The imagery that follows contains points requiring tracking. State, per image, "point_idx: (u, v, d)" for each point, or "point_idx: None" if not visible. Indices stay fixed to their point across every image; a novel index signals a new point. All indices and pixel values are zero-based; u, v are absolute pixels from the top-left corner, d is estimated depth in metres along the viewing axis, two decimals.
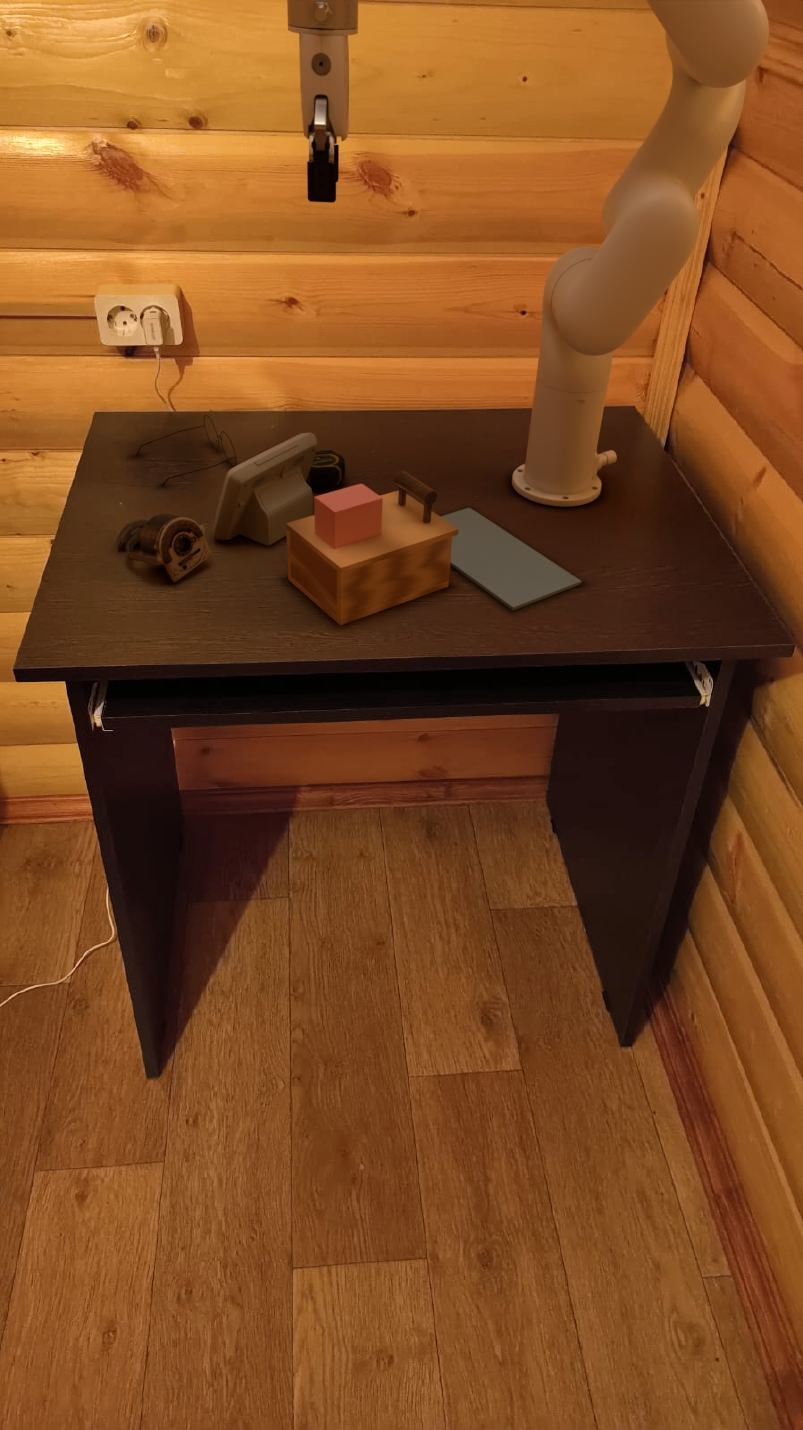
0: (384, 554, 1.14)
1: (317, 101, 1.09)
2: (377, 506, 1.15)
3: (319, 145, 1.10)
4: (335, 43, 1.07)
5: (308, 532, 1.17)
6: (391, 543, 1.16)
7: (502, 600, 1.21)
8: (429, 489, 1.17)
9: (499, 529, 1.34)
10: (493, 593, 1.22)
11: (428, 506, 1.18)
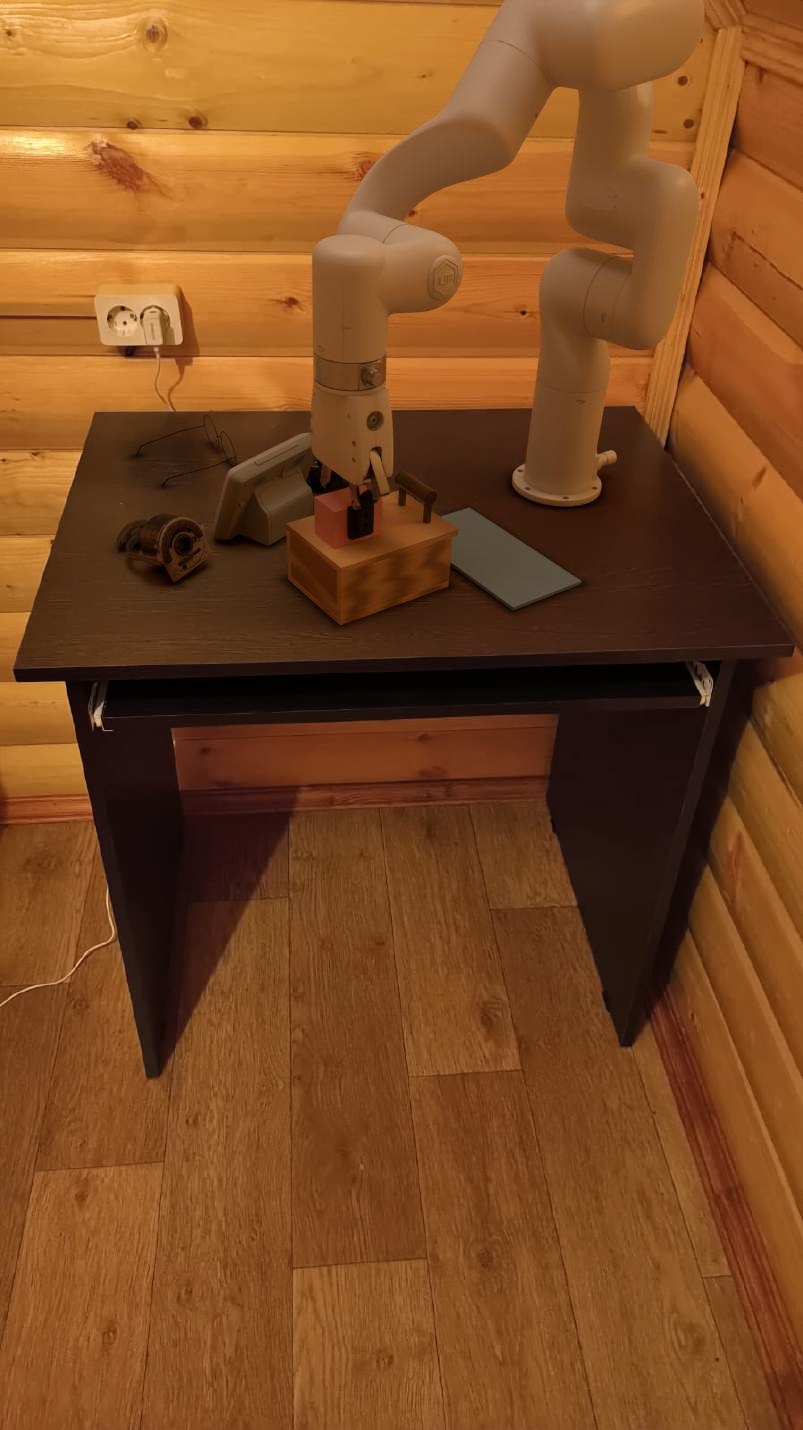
0: (384, 554, 1.14)
1: (372, 461, 1.07)
2: (377, 506, 1.15)
3: None
4: (385, 399, 1.04)
5: (308, 532, 1.17)
6: (391, 543, 1.16)
7: (502, 600, 1.21)
8: (429, 489, 1.17)
9: (499, 529, 1.34)
10: (493, 593, 1.22)
11: (428, 506, 1.18)
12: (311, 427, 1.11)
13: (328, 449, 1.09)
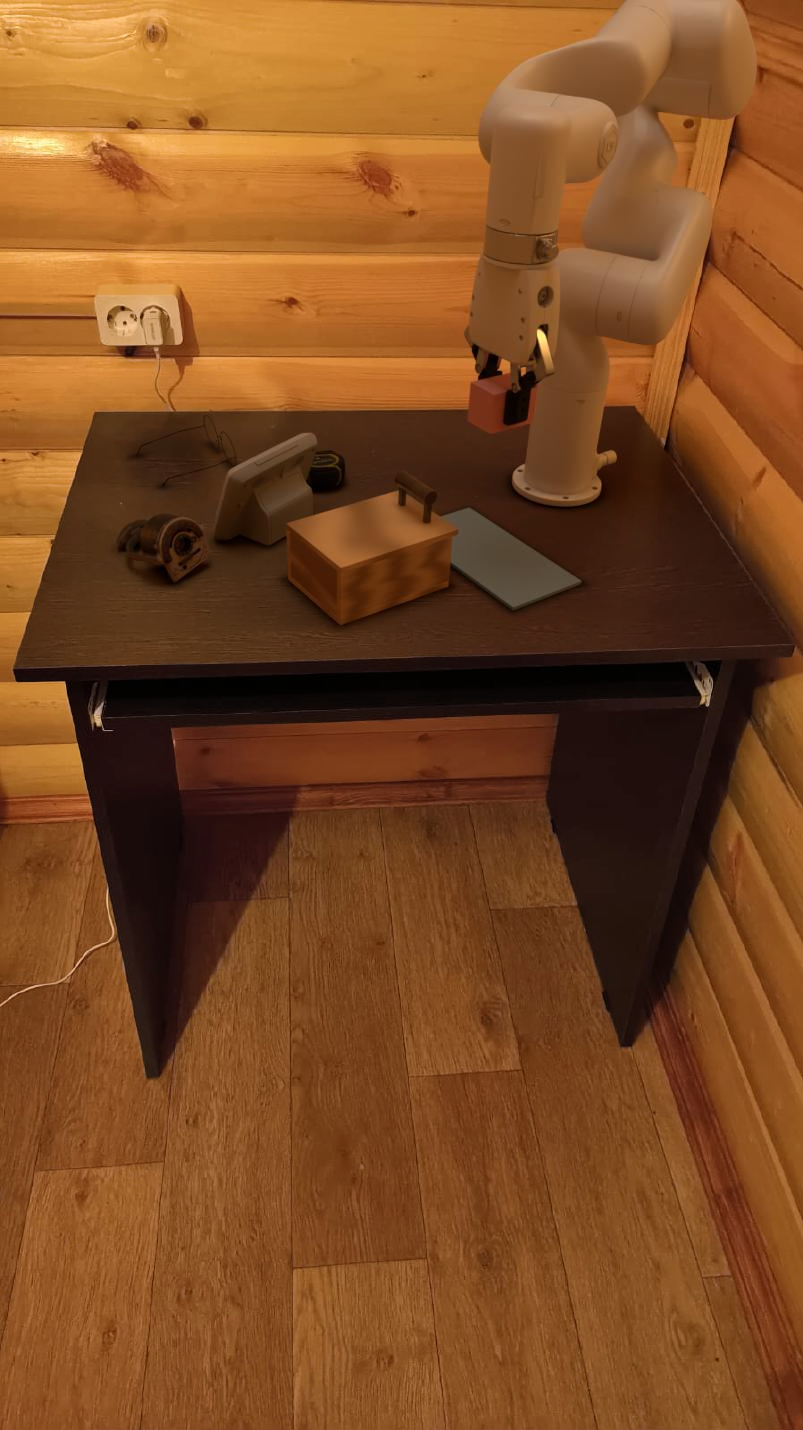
0: (384, 554, 1.14)
1: (539, 339, 1.07)
2: (532, 392, 1.15)
3: None
4: (556, 274, 1.05)
5: (308, 532, 1.17)
6: (391, 543, 1.16)
7: (502, 600, 1.21)
8: (429, 489, 1.17)
9: (499, 529, 1.34)
10: (493, 593, 1.22)
11: (428, 506, 1.18)
12: (471, 310, 1.12)
13: (491, 330, 1.10)
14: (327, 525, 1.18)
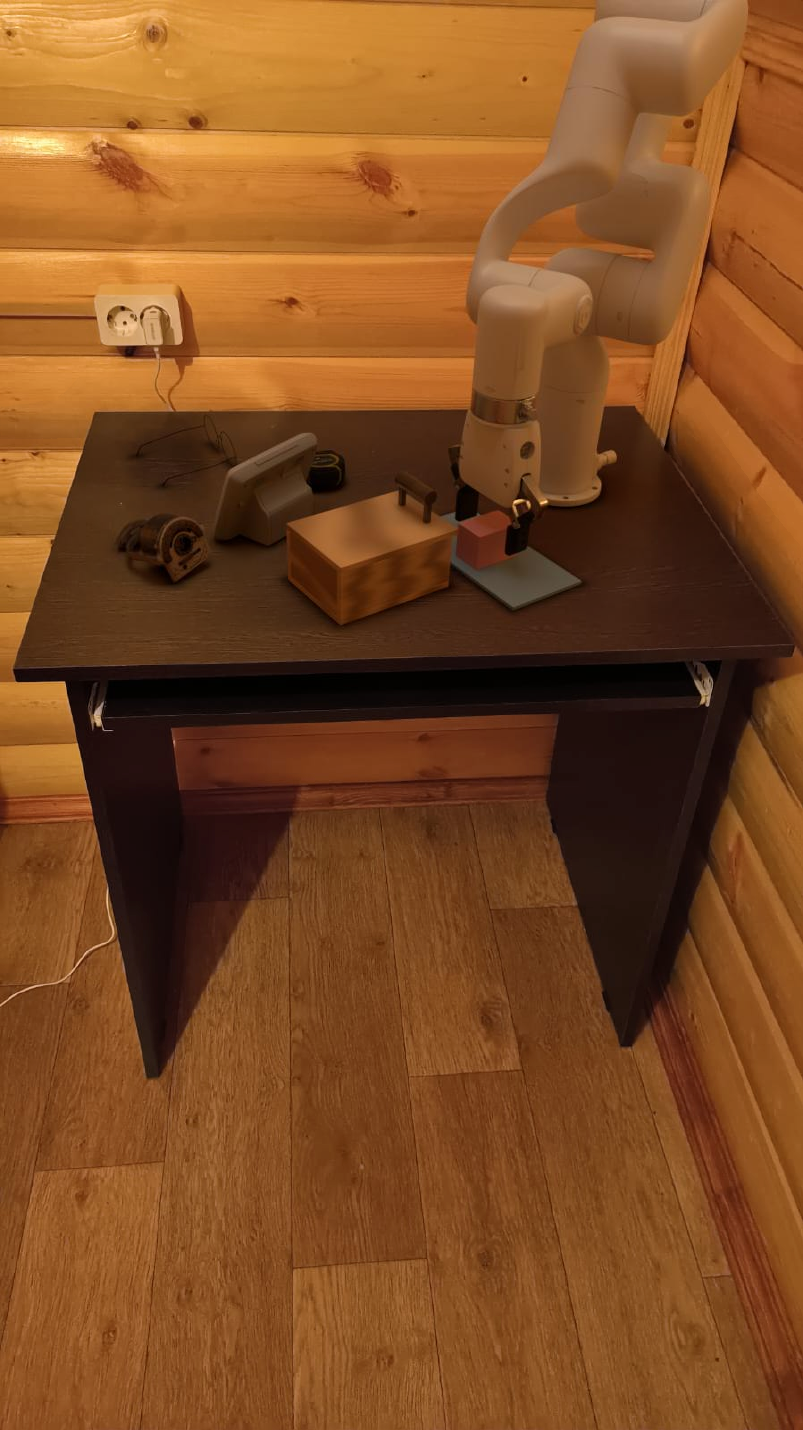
0: (384, 554, 1.14)
1: (525, 480, 1.17)
2: None
3: (536, 517, 1.19)
4: (537, 431, 1.16)
5: (308, 532, 1.17)
6: (391, 543, 1.16)
7: (502, 600, 1.21)
8: (429, 489, 1.17)
9: None
10: (493, 593, 1.22)
11: (428, 506, 1.18)
12: (461, 454, 1.23)
13: (479, 474, 1.21)
14: (327, 525, 1.18)
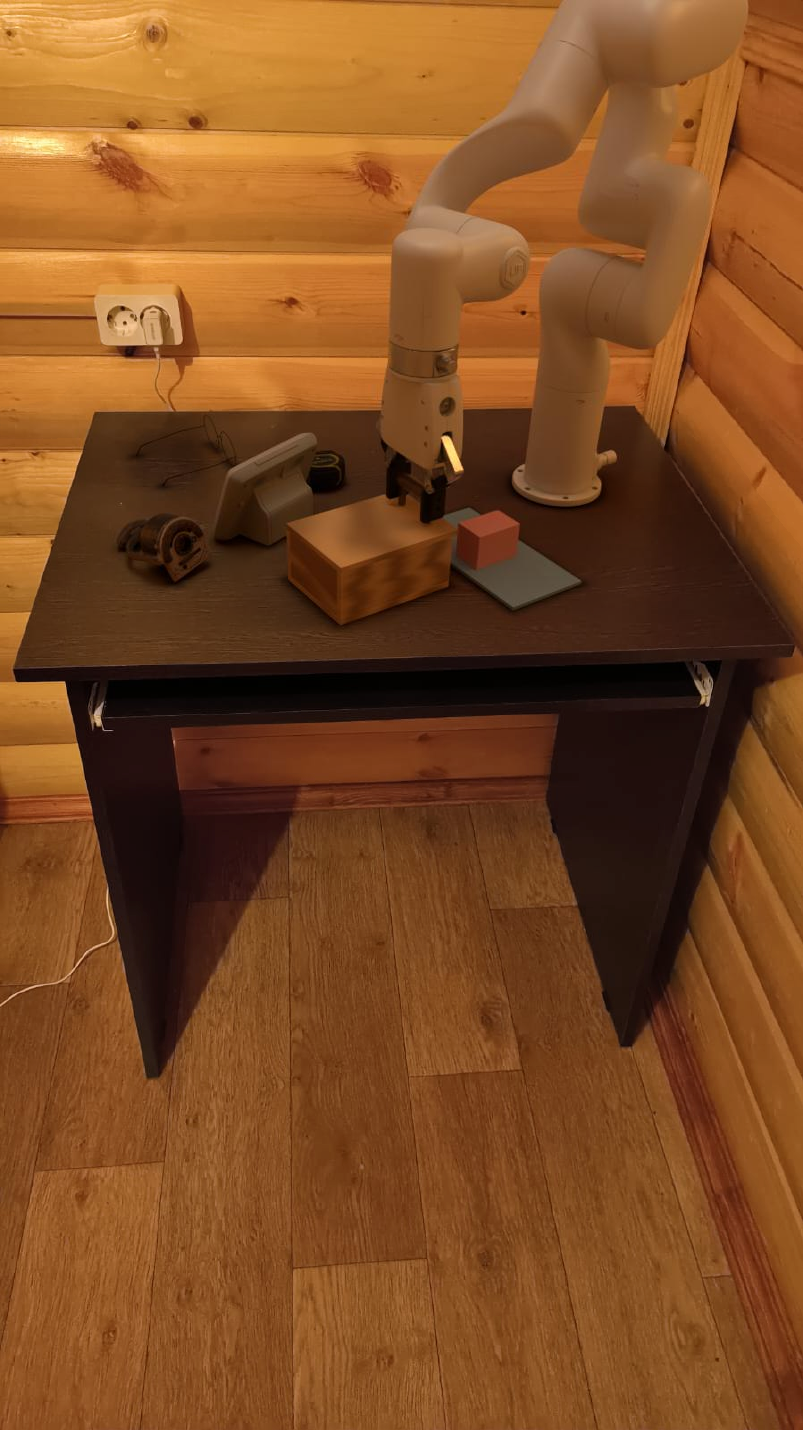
0: (384, 554, 1.14)
1: (445, 443, 1.11)
2: (515, 531, 1.26)
3: None
4: (457, 386, 1.09)
5: (308, 532, 1.17)
6: (391, 543, 1.16)
7: (502, 600, 1.21)
8: None
9: None
10: (493, 593, 1.22)
11: None
12: (382, 413, 1.16)
13: (399, 434, 1.14)
14: (327, 525, 1.18)
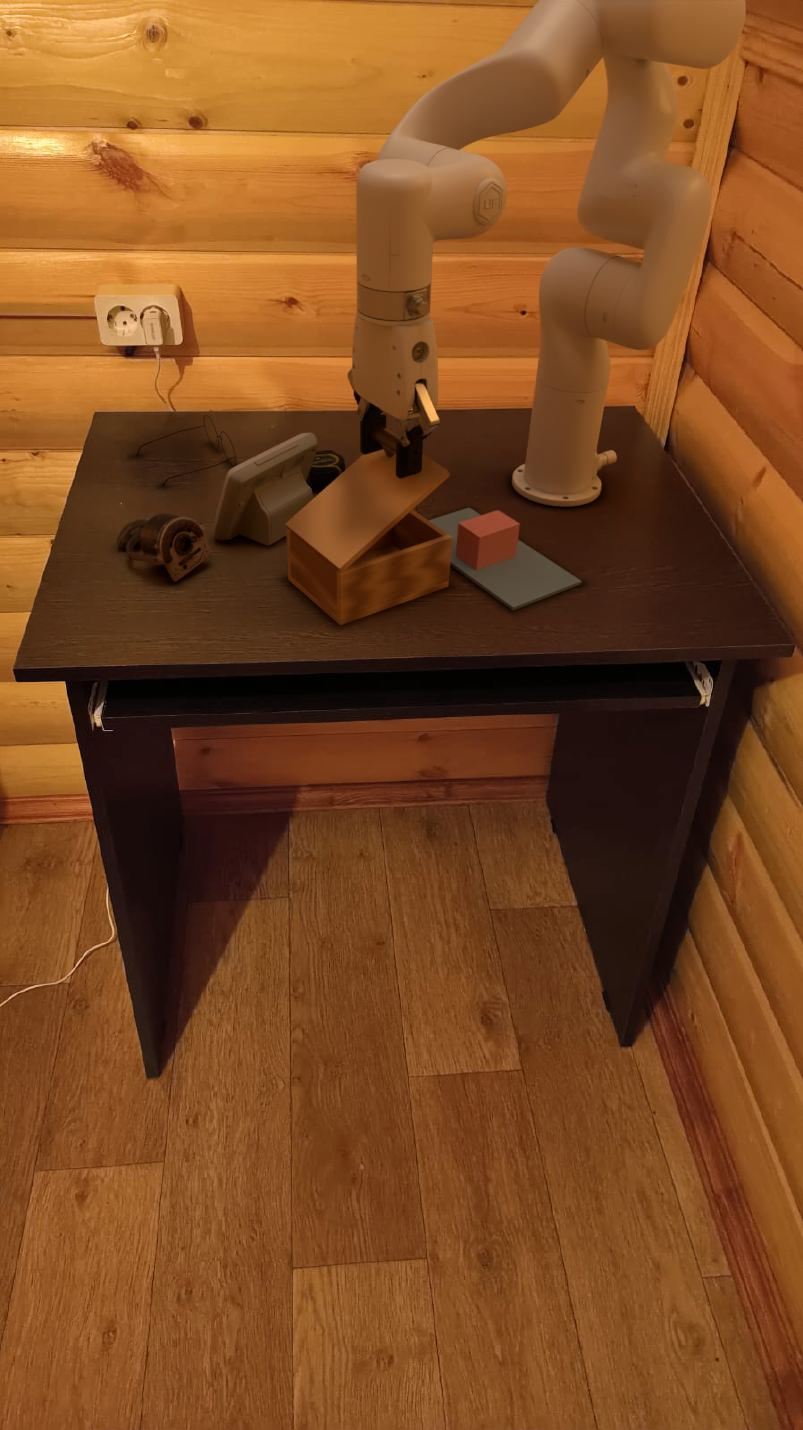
0: (378, 534, 1.12)
1: (419, 392, 1.05)
2: (515, 531, 1.26)
3: None
4: (431, 329, 1.03)
5: (305, 529, 1.16)
6: (384, 517, 1.13)
7: (502, 600, 1.21)
8: None
9: None
10: (493, 593, 1.22)
11: None
12: (353, 362, 1.10)
13: (371, 384, 1.08)
14: (322, 513, 1.17)
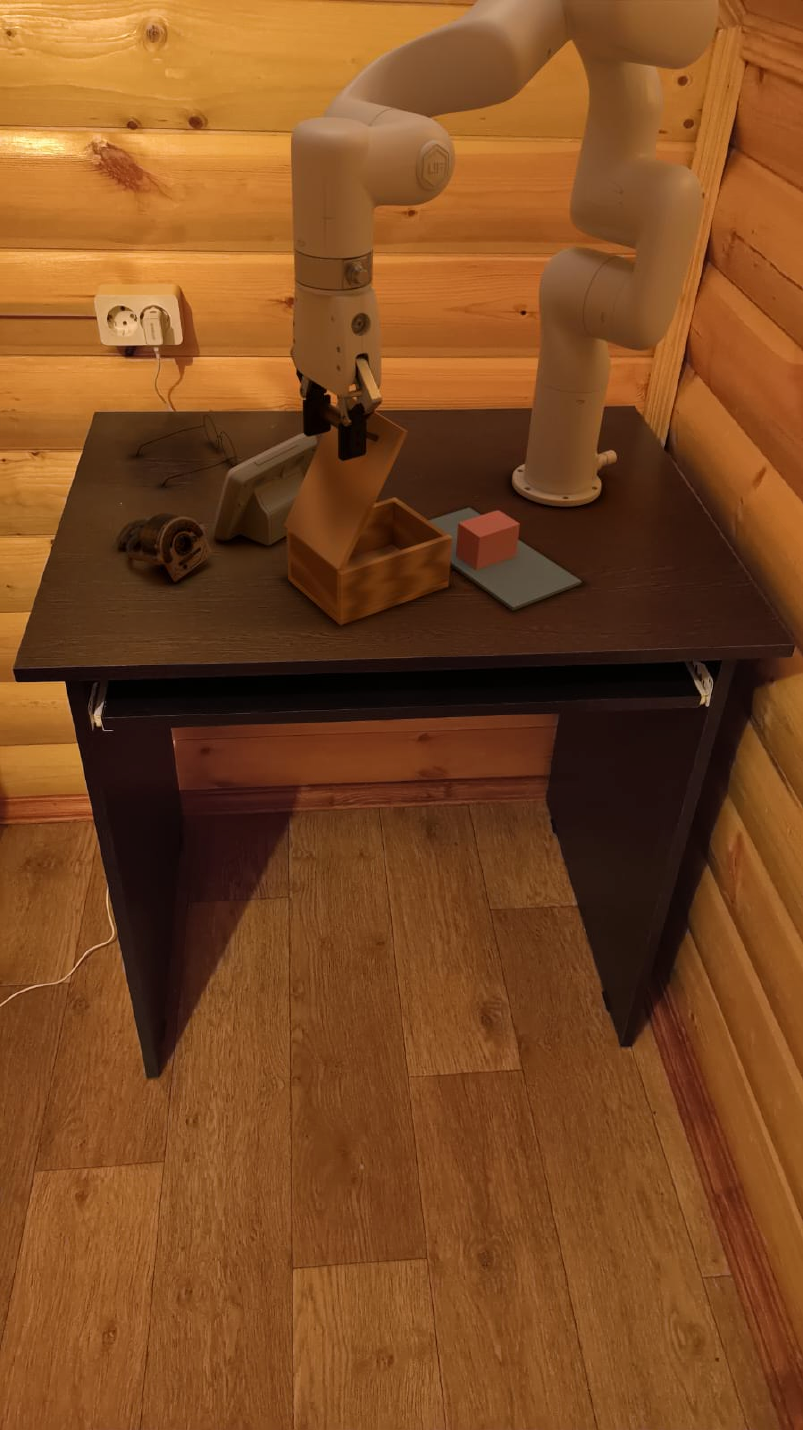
0: (360, 522, 1.09)
1: (360, 367, 0.99)
2: (515, 531, 1.26)
3: None
4: (372, 300, 0.97)
5: (301, 528, 1.16)
6: (360, 500, 1.10)
7: (502, 600, 1.21)
8: None
9: None
10: (493, 593, 1.22)
11: None
12: (293, 337, 1.04)
13: (311, 359, 1.02)
14: (310, 506, 1.15)
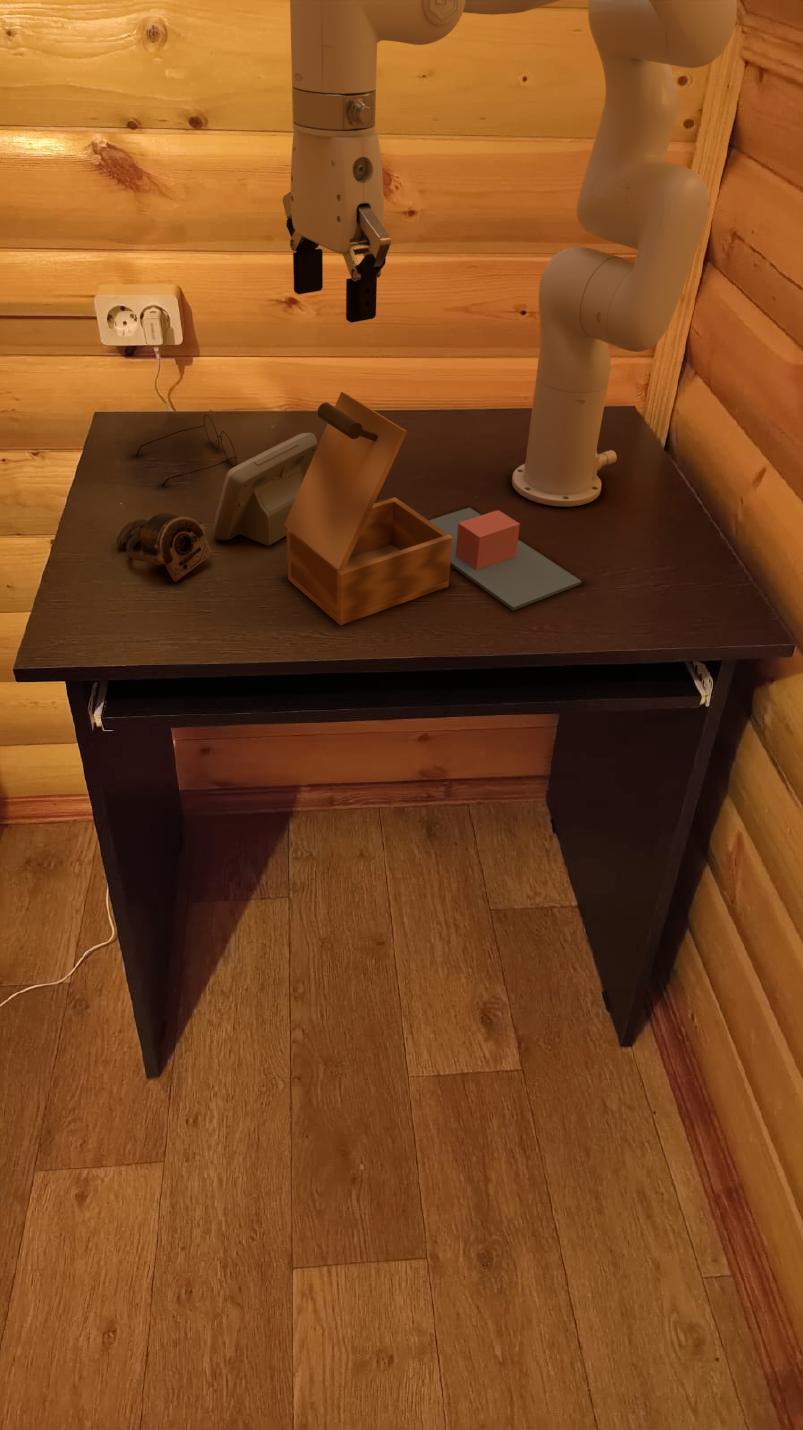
0: (360, 522, 1.09)
1: (363, 212, 0.93)
2: (515, 531, 1.26)
3: (378, 261, 0.95)
4: (374, 144, 0.92)
5: (301, 528, 1.16)
6: (360, 500, 1.09)
7: (502, 600, 1.21)
8: (347, 426, 1.06)
9: None
10: (493, 593, 1.22)
11: (361, 434, 1.07)
12: (291, 194, 0.99)
13: (310, 214, 0.97)
14: (310, 506, 1.15)
